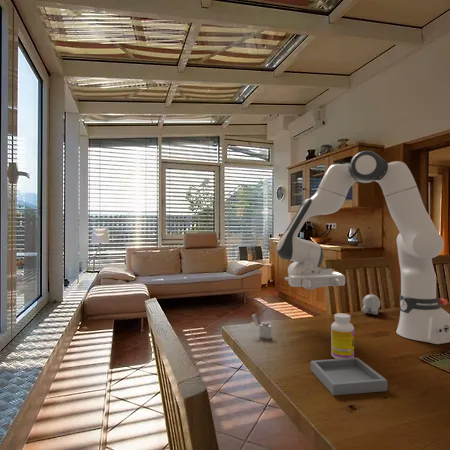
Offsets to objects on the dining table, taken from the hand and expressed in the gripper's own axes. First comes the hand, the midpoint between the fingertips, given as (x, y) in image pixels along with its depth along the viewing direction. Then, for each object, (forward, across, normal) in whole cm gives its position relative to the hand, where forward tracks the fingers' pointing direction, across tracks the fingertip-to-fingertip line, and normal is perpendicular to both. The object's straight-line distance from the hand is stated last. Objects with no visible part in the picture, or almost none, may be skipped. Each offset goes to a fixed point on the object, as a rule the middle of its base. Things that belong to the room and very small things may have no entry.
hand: (325, 284), depth 115 cm
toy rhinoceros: (-31, +37, +20) cm, 52 cm away
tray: (+26, -6, +20) cm, 33 cm away
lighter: (-10, -20, +21) cm, 30 cm away
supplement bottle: (+12, 0, +20) cm, 24 cm away
